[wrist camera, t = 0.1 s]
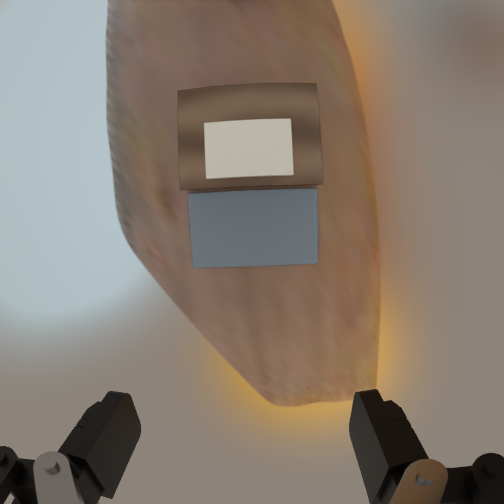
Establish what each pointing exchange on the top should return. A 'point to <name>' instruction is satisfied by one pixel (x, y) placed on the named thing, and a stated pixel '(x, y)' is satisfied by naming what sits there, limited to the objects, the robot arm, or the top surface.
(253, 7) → the top surface
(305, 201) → the mat
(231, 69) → the top surface
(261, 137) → the cream thick tile
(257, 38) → the top surface
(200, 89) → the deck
